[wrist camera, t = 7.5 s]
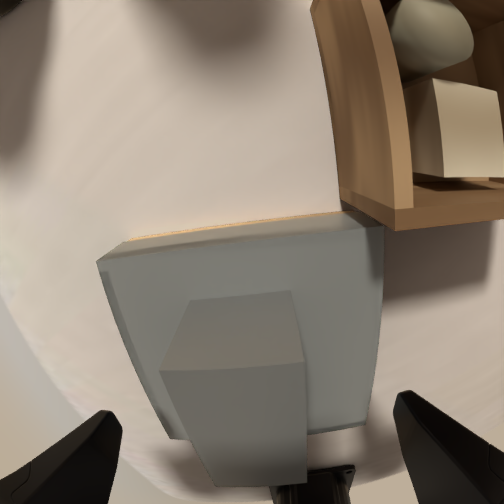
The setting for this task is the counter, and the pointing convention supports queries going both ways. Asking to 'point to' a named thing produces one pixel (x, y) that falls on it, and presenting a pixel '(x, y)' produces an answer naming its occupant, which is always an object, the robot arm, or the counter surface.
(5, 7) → the supplement bottle
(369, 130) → the storage box
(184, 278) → the lid
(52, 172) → the counter surface
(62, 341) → the counter surface
